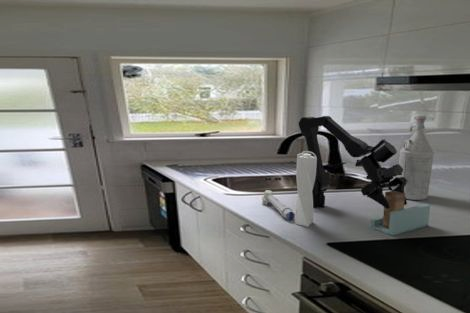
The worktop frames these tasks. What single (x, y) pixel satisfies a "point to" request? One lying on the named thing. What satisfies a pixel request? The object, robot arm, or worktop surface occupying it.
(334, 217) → the worktop surface
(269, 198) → the syringe
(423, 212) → the backboard channel
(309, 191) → the skyscraper
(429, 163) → the white bottle
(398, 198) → the walnut box
